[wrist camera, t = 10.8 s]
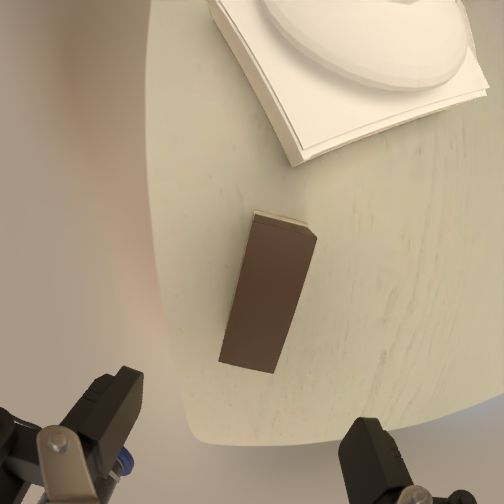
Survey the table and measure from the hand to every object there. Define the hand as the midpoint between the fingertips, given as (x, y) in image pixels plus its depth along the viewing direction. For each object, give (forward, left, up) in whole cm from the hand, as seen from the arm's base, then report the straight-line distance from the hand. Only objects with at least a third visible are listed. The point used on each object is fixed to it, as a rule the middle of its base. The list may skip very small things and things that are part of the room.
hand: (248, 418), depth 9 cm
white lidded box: (+2, +22, -19) cm, 29 cm away
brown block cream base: (+1, -1, -19) cm, 19 cm away
